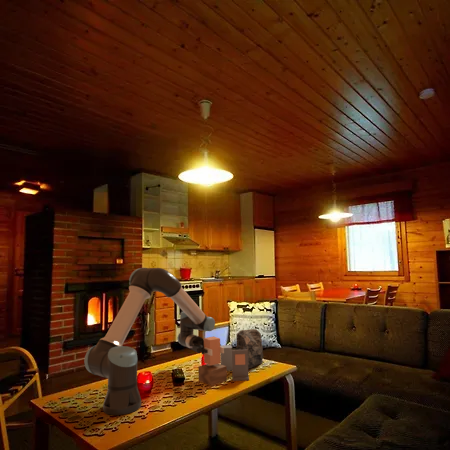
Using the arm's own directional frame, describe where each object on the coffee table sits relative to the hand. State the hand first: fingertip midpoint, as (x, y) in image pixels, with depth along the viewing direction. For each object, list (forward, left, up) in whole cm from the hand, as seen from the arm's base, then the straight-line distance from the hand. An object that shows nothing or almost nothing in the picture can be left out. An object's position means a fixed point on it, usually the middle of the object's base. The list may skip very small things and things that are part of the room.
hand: (217, 351), depth 169 cm
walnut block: (-3, +4, -15) cm, 16 cm away
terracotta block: (-3, +4, -6) cm, 8 cm away
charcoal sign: (+11, +4, -15) cm, 19 cm away
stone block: (+19, +25, -15) cm, 35 cm away
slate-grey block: (+5, +21, -15) cm, 27 cm away
